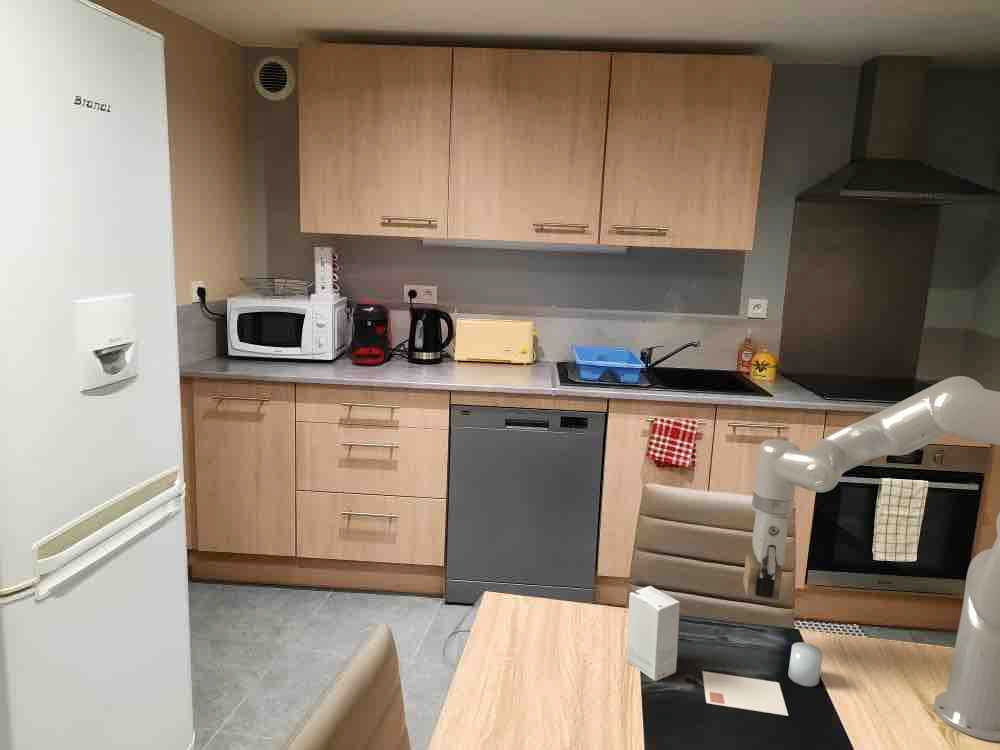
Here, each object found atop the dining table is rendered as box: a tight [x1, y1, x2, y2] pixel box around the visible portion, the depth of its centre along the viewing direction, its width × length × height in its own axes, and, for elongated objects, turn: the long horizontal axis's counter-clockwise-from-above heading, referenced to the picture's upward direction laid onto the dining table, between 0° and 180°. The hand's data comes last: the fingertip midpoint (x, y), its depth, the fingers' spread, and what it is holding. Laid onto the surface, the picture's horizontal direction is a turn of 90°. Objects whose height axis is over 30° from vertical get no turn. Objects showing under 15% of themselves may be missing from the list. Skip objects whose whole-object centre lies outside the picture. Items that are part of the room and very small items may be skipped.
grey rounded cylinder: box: [787, 641, 824, 687], centre depth 143 cm, size 6×6×6 cm
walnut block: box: [742, 554, 783, 601], centre depth 150 cm, size 6×6×6 cm
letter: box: [701, 670, 789, 717], centre depth 138 cm, size 14×10×1 cm
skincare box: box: [625, 585, 681, 682], centre depth 144 cm, size 8×6×15 cm
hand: (761, 587), depth 150 cm, fingers closed on walnut block, 6 cm apart
